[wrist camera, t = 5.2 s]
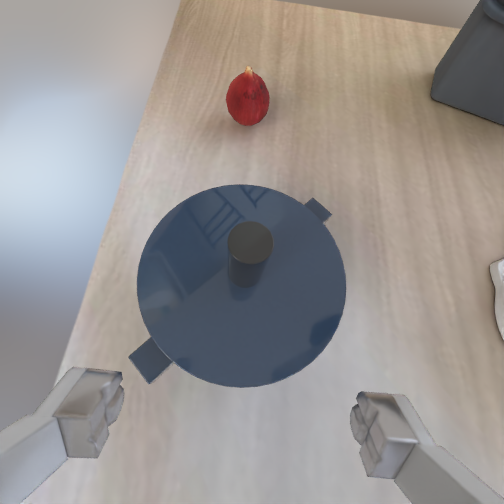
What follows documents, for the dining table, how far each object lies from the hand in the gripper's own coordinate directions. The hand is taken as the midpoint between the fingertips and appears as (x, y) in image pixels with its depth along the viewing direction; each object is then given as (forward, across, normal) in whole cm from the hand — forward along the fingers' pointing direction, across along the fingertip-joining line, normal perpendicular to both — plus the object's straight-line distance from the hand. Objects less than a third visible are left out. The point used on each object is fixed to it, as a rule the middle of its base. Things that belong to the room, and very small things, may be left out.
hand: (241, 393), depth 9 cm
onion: (+37, +2, -10) cm, 38 cm away
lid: (+11, 0, +1) cm, 11 cm away
